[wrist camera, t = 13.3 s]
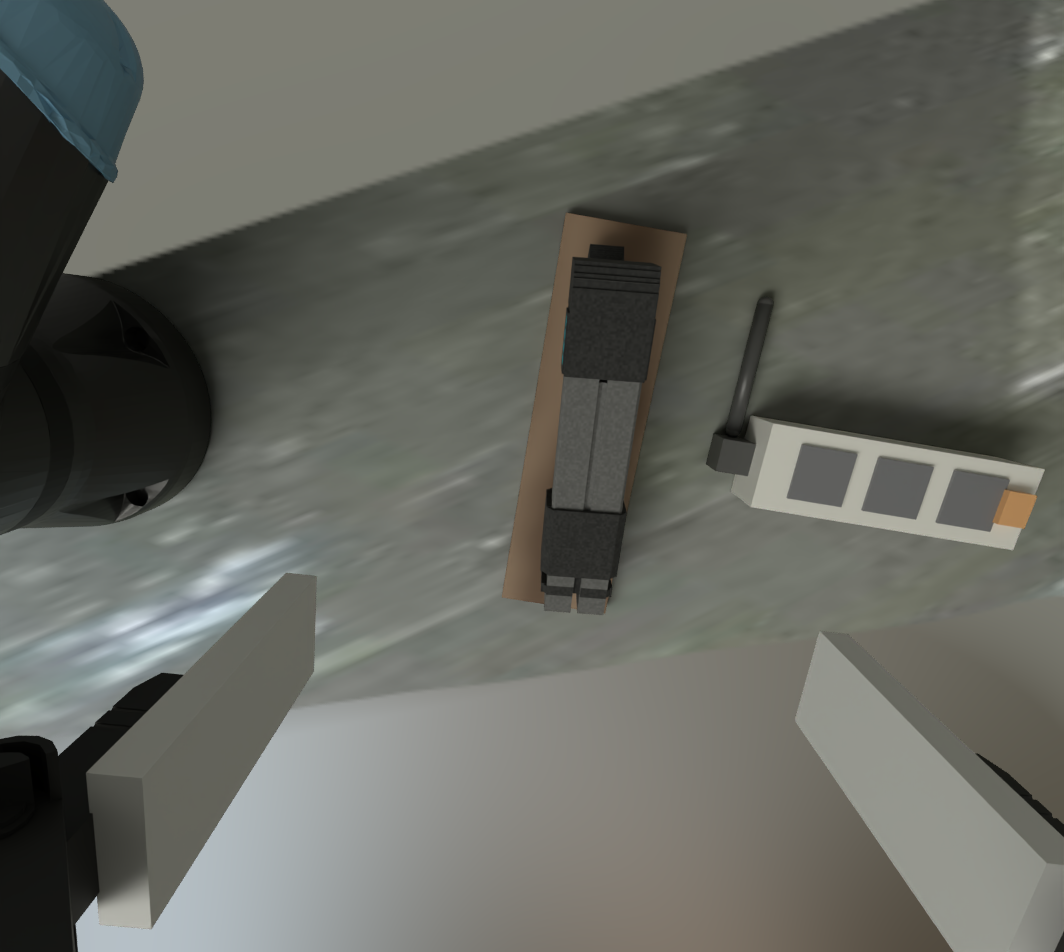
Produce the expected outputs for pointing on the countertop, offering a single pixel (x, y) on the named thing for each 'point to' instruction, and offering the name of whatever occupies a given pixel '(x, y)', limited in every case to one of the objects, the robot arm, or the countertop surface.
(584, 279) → the gun
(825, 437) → the power strip
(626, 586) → the countertop surface
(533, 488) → the walnut board
